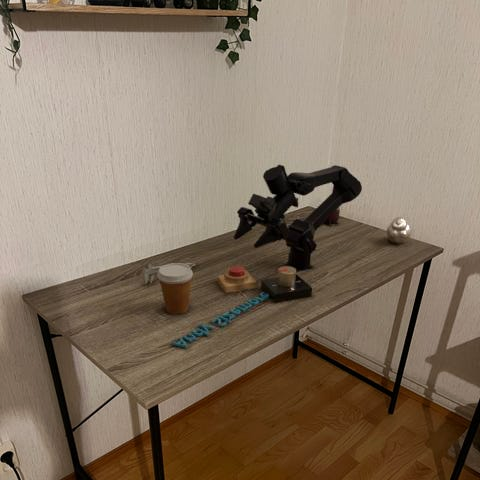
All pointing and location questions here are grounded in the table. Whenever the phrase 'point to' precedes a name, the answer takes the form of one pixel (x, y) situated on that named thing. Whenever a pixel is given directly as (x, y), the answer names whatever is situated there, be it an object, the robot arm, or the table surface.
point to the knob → (286, 276)
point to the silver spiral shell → (399, 230)
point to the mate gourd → (333, 217)
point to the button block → (236, 282)
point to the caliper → (155, 272)
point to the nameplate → (205, 327)
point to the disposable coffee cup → (175, 286)
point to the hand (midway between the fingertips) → (244, 242)
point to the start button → (236, 271)
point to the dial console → (286, 290)
